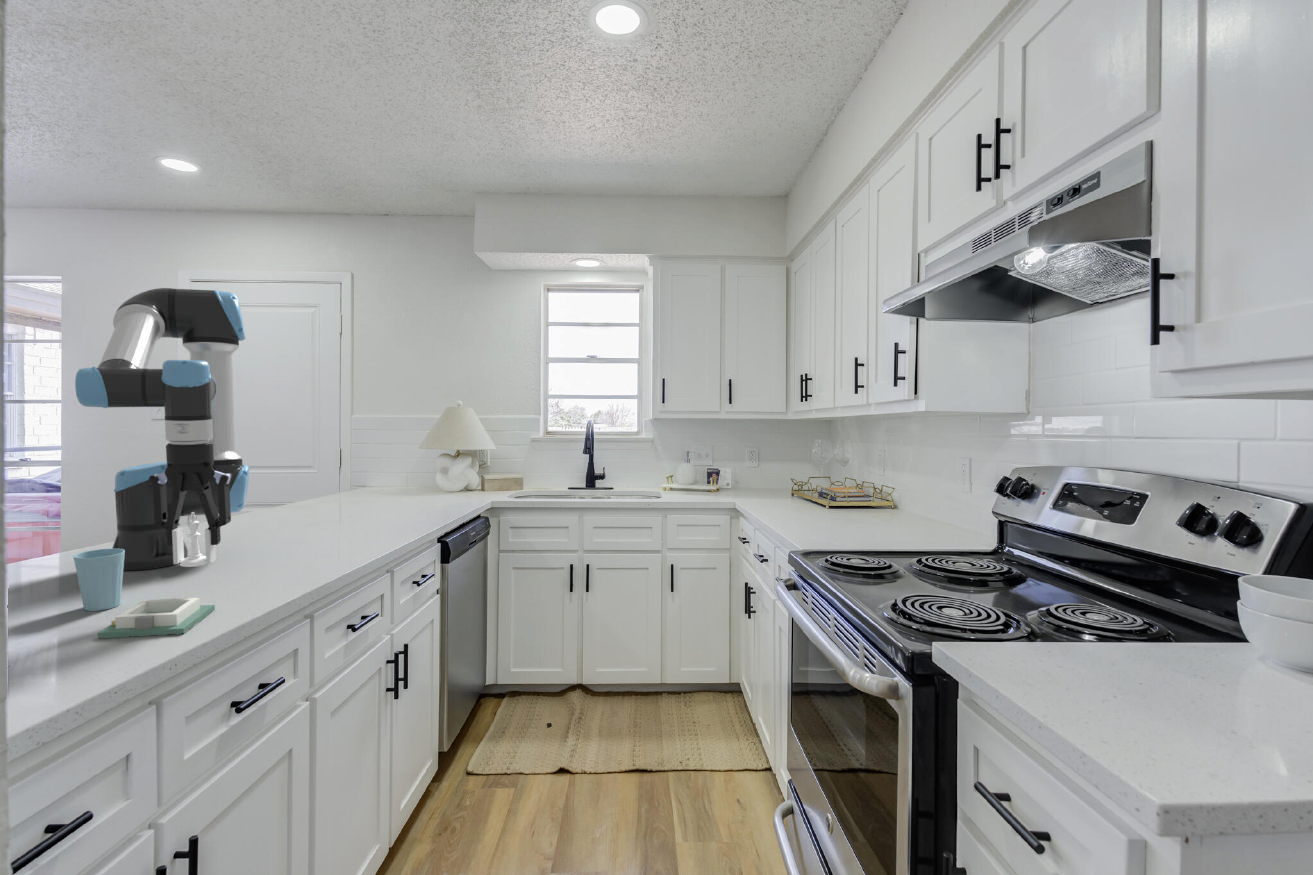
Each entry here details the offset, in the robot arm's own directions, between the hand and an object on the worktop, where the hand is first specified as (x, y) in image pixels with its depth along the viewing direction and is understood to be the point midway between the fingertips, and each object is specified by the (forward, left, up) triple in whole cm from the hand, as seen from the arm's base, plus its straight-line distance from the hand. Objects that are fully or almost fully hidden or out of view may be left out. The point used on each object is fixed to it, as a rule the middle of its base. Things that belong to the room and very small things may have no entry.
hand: (195, 561), depth 137 cm
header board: (+11, -2, -8) cm, 14 cm away
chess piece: (0, 0, -1) cm, 1 cm away
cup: (-1, -17, -9) cm, 19 cm away
